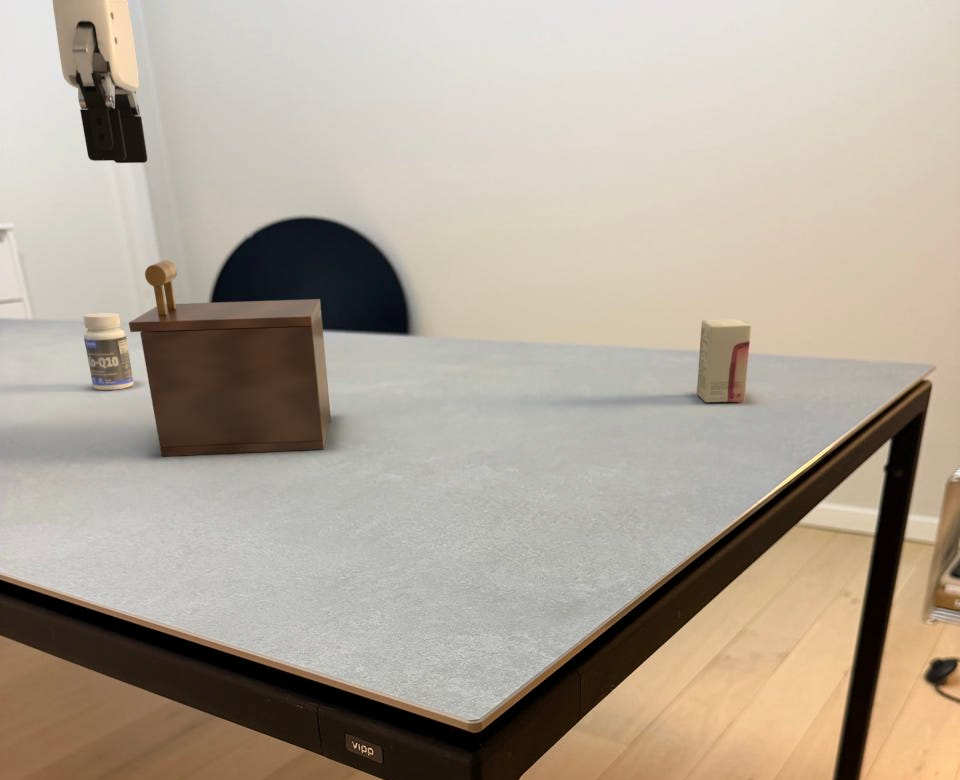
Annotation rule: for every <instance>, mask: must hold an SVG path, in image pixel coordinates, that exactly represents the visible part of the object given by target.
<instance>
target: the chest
mask: <svg viewBox="0 0 960 780" xmlns="http://www.w3.org/2000/svg"><path fill="white" fill-rule="evenodd" d="M139 334H140V341H141V345H142V352H143V357H144V363H145V369H146V375H147V381H148V387H149V392H150V398H151V404H152V409H153V410H152V411H153V416H154V422H155V427H156V434H157V437H158V444H159V445H158V446H159V447H160V448H159V451H160V456H161V457H177V456H178V457H179V456H203V455H205V456H206V455H225V454H247V453H249V454H250V453H270V452H292V451H294V452H295V451H296V452H297V451H313V450H314V451H315V450H324V449H325V445H326V440H327V435H328V431H329V426H330V423H331V419H332V418H331V416H332V415H331V404H330V394H329V384H328V373H327V372H328V371H327V362H326V350H325V339H324V328H323V318H322V309H321V308H320V310H319V312H318V314H317V316H316V318H315V320H314V322H313V324H312V326H292V327H263V328H234V329H205V330H176V331H147V332H139Z"/></svg>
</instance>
